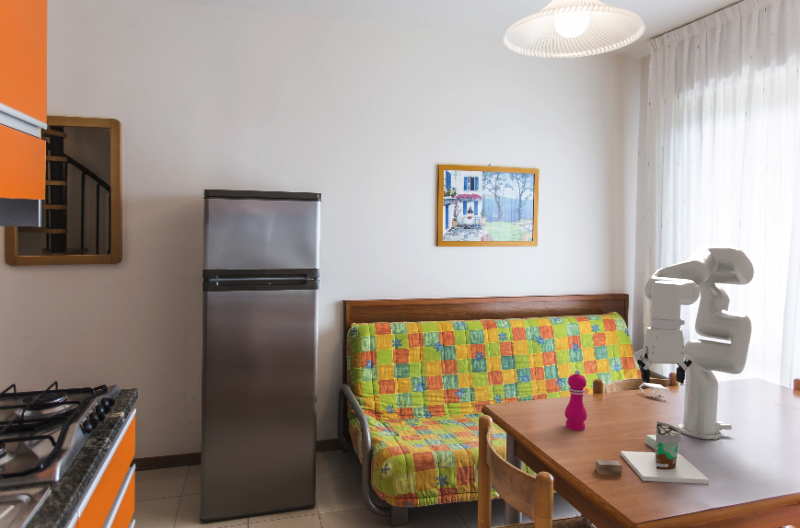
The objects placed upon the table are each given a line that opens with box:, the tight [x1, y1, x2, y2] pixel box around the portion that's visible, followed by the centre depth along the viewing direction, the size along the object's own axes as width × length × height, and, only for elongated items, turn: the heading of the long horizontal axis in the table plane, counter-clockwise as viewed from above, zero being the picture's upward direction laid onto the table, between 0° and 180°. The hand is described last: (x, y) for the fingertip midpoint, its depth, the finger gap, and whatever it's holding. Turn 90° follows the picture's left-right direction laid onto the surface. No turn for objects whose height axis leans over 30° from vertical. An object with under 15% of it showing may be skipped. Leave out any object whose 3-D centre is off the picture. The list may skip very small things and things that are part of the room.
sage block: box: [645, 434, 656, 450], centre depth 157 cm, size 6×3×3 cm, turn 10°
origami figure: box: [638, 382, 669, 401], centre depth 208 cm, size 12×8×5 cm
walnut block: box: [595, 459, 623, 477], centre depth 139 cm, size 6×3×3 cm, turn 86°
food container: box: [654, 421, 683, 470], centre depth 142 cm, size 12×6×10 cm, turn 155°
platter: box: [620, 450, 710, 485], centre depth 142 cm, size 17×16×1 cm
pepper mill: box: [564, 369, 588, 432], centre depth 171 cm, size 7×7×20 cm
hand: (662, 382), depth 146 cm, fingers open, 9 cm apart
